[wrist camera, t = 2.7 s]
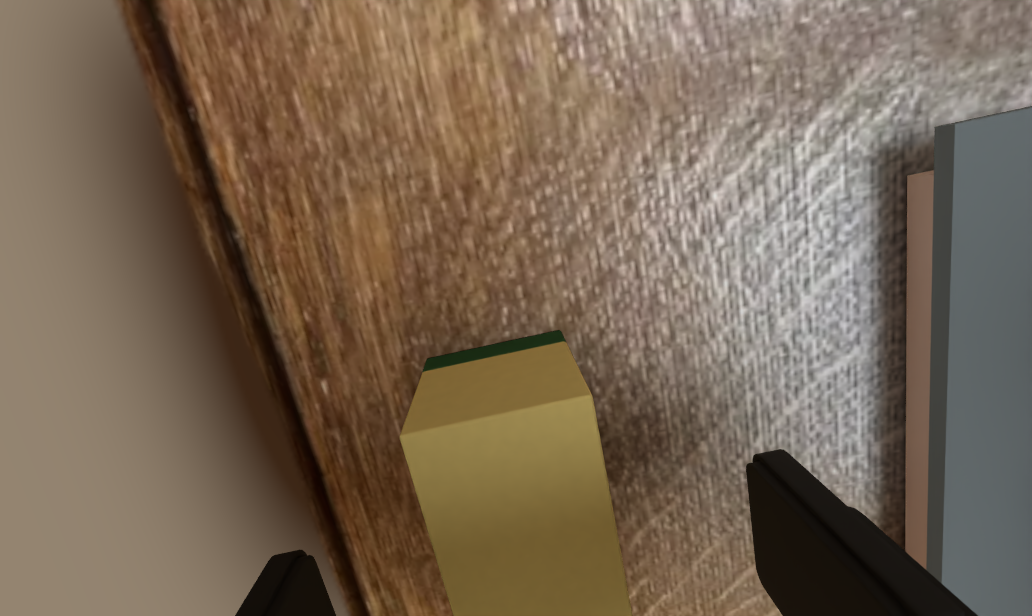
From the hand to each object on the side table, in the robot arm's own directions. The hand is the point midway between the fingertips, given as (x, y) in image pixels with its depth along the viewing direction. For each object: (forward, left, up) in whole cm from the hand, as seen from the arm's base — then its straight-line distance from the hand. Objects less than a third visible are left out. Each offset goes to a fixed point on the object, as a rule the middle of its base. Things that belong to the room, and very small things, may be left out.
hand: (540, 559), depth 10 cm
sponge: (0, 0, -5) cm, 5 cm away
